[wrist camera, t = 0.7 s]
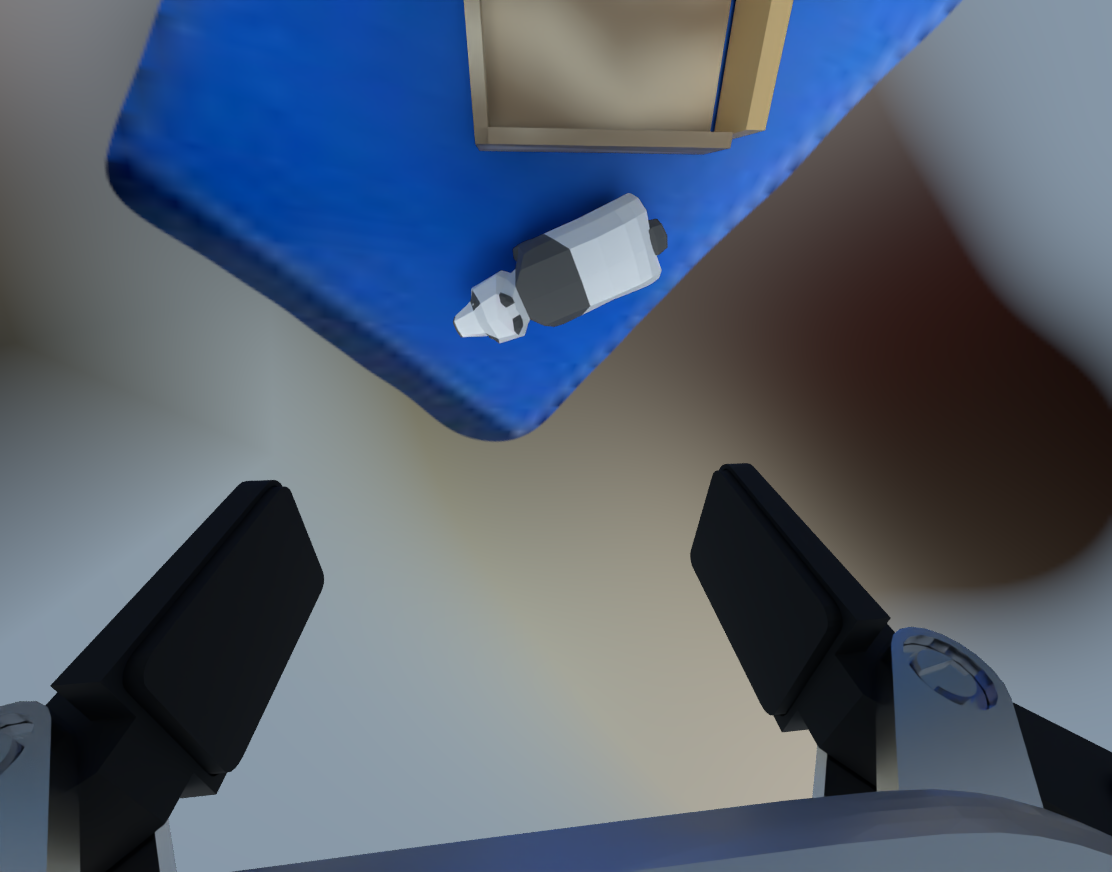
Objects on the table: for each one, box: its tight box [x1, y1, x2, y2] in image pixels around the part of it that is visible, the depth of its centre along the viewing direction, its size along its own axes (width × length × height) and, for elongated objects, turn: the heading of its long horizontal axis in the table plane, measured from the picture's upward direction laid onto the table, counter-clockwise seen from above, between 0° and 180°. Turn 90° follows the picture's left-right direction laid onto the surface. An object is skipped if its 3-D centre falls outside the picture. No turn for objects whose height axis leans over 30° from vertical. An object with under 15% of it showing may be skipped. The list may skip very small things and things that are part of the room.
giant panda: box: [453, 193, 667, 343], centre depth 27 cm, size 15×6×10 cm, turn 113°
